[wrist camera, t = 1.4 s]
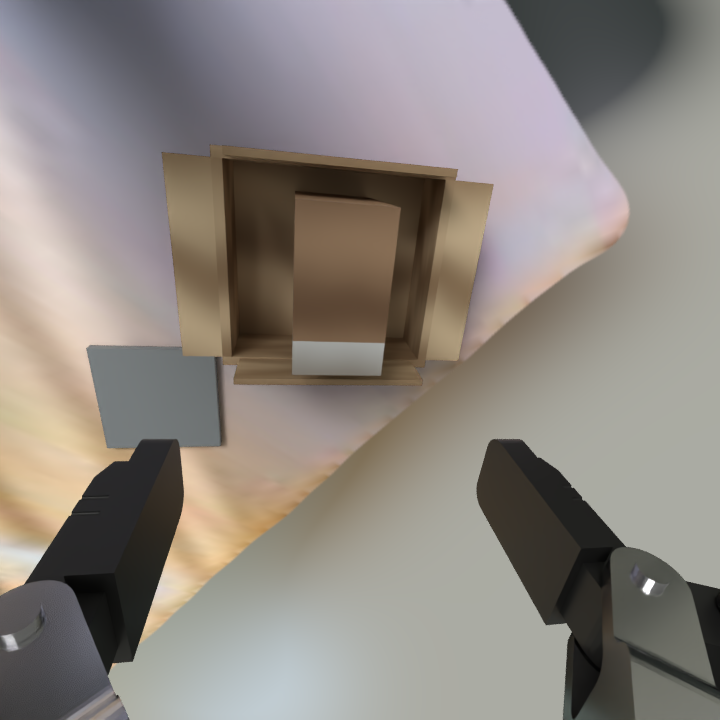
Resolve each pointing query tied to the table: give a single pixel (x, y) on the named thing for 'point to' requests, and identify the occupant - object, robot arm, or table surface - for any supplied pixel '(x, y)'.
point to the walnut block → (341, 283)
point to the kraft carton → (276, 257)
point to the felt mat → (155, 395)
